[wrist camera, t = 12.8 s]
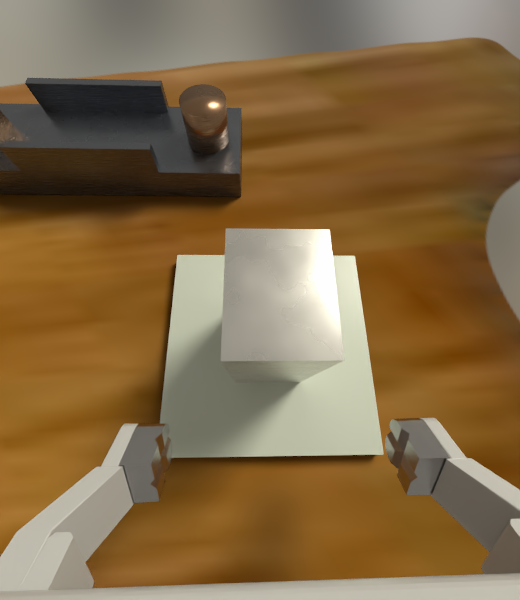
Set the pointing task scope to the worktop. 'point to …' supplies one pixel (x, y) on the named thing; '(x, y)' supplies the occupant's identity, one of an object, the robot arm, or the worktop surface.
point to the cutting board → (262, 396)
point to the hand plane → (120, 140)
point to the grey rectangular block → (279, 305)
